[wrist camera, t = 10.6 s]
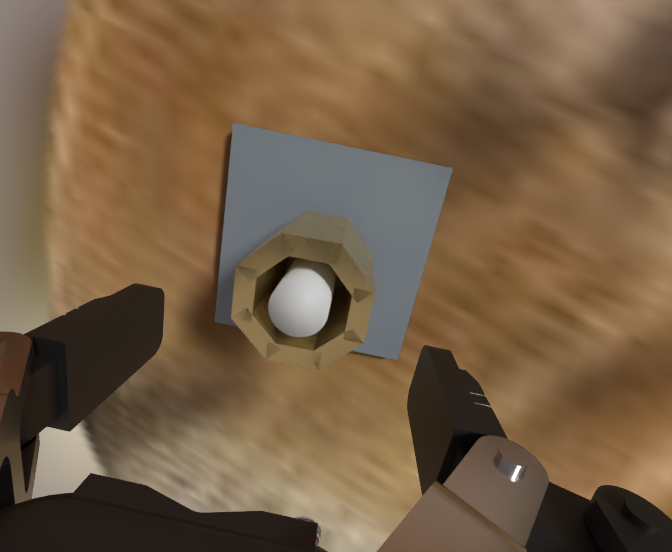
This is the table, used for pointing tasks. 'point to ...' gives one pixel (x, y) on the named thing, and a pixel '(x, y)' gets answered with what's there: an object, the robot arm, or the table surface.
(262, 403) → the table surface
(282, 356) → the bushing
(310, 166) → the grey peg stand
